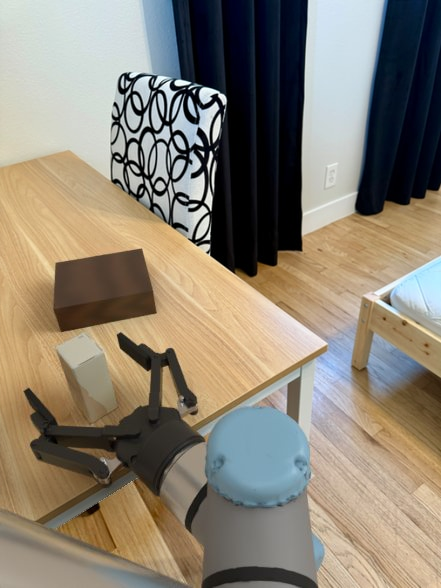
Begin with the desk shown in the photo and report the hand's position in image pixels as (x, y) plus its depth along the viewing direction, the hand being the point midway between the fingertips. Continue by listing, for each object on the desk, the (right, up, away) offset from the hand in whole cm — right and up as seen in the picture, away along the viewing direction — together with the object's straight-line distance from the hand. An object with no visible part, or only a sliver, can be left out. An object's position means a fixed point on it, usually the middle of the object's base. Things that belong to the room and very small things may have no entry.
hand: (77, 366), depth 57 cm
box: (+2, -6, +2) cm, 7 cm away
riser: (-2, +9, +21) cm, 23 cm away
